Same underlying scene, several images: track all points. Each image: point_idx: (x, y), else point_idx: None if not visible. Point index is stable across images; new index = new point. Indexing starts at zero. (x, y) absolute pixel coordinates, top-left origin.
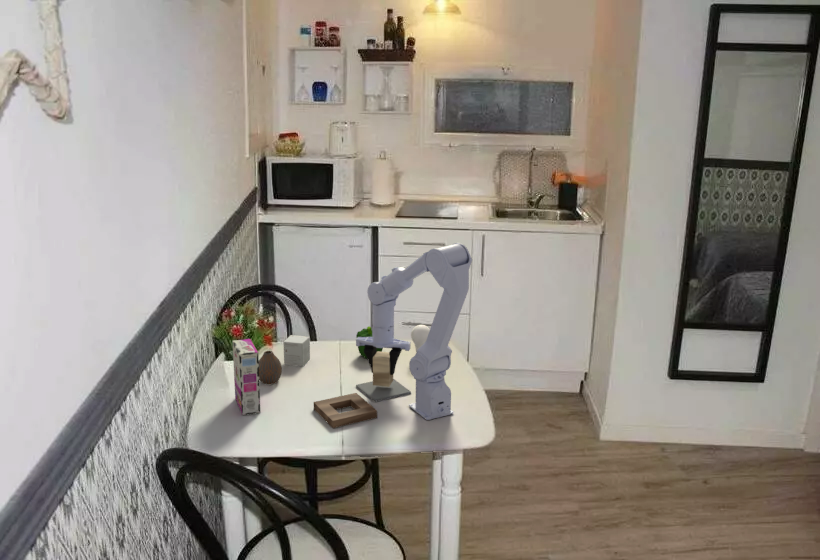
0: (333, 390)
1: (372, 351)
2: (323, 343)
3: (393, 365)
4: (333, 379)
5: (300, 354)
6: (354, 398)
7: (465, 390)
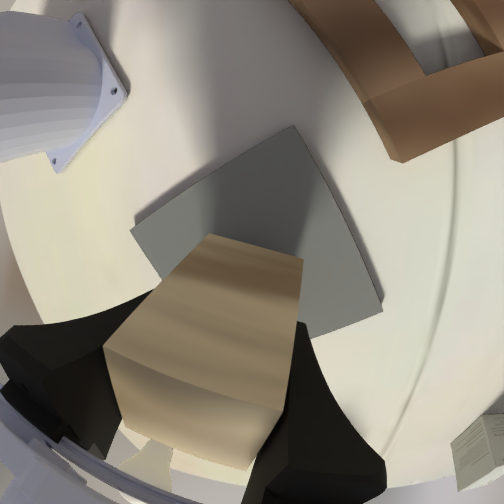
0: (472, 272)
1: (275, 474)
2: (393, 485)
3: (116, 308)
4: (445, 361)
5: (493, 440)
6: (407, 84)
7: (26, 250)
